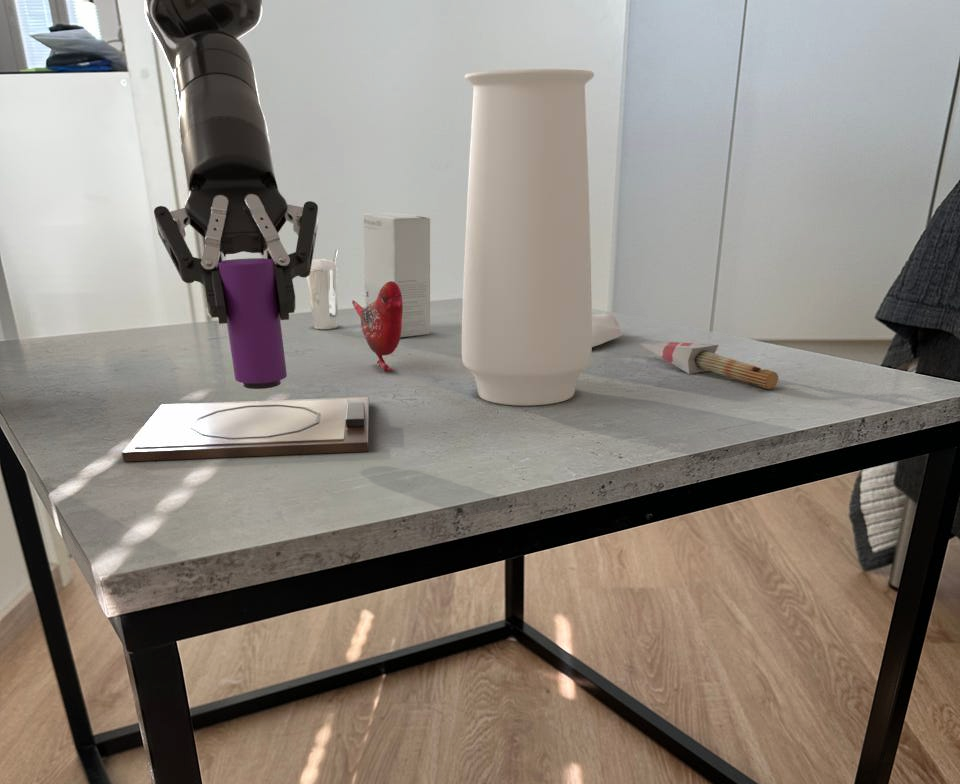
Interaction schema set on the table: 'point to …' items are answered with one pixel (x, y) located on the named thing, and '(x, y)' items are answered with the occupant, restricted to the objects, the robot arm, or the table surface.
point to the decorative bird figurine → (382, 321)
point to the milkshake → (323, 293)
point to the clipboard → (252, 429)
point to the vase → (527, 236)
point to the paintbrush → (710, 362)
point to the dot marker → (253, 322)
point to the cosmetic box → (399, 264)
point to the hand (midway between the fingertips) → (254, 314)
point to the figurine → (604, 328)
